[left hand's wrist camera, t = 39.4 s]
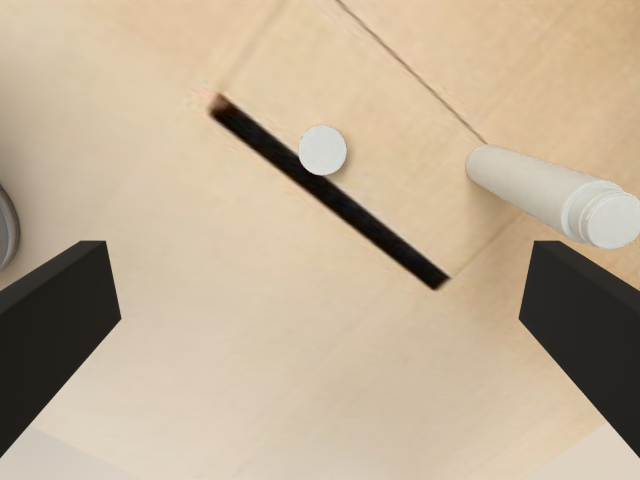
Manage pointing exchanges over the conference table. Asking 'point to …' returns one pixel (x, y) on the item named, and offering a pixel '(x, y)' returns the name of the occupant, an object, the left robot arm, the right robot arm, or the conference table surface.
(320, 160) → the lid
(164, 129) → the conference table surface
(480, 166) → the bottle
